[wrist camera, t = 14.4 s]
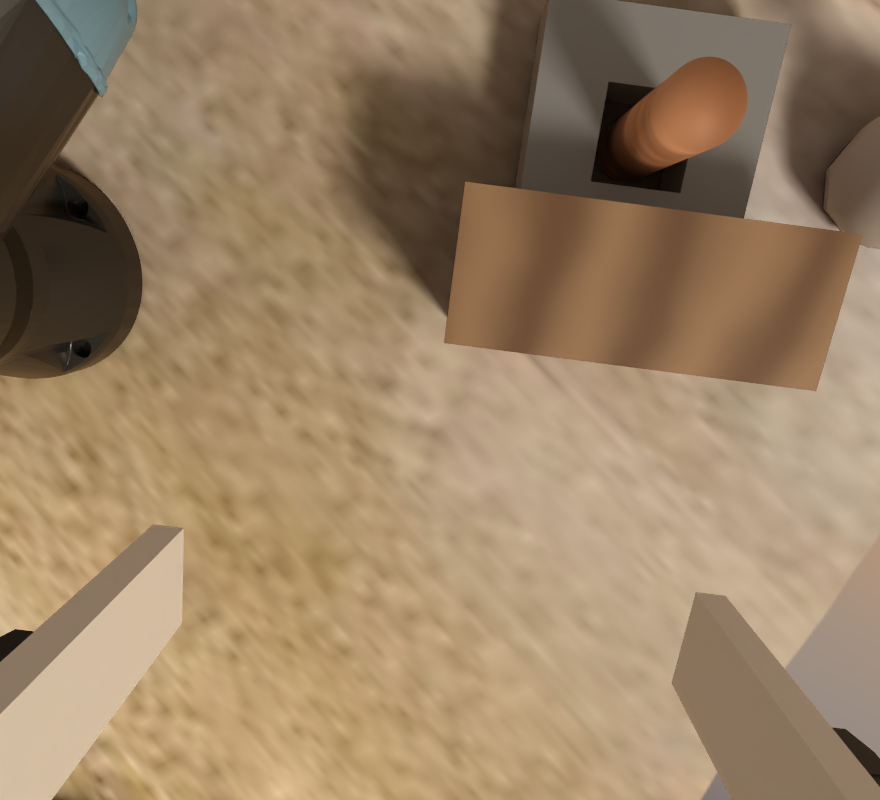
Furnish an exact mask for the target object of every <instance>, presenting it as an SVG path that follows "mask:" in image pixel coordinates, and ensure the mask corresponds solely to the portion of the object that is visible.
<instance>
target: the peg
mask: <svg viewBox="0 0 880 800" xmlns="http://www.w3.org/2000/svg"><path fill="white" fill-rule="evenodd" d="M747 101H748V95H747V88H746V84H745V81H744V79H743V77H742V75H741V73H740V72H739V70H738V69H737V68H736V67H735V66H734V65H732V64H731V63H730V62H728V61H726V60H724V59H721V58H718V57H701V58H697V59H694V60H692V61H690V62H688V63H686V64H685V65H683V66H682V67H680V68H679V69H678V70H677V71H676V72H674V73H673V74H672V75H671V76H670V77H668V78H667V79H666V80H665V81H664V82H662V83H661V84H660V85H659V86H657V87H656V88H655V89H654V90H653V91H651V92H650V93H649V94H648V95H647V96H645V97H644V98H643V99H642V100H641V101H639V102H638V103H637V104H636V105H634V106H633V107H632V108H631V109H630V110H628V111H627V112H626V113H625V114H624V115H622V116H621V117H620V118H619V119H618V120H616V121H615V122H614V123H613V124H611V125H610V126H609V127H608V128H607V129H606V130H605V132H604V133H603V135H602V137H601V139H600V142H599V145H598V160H599V163H600V166H601V168H602V169H603V171H604V172H605V173H606V174H607V175H608V176H609V177H610V178H612V179H614V180H617V181H621V182H630V181H634V180H637V179H639V178H642V177H644V176H647V175H649V174H651V173H654V172H656V171H659V170H661V169H663V168H666V167H668V166H671V165H673V164H675V163H678V162H680V161H683V160H685V159H687V158H690V157H692V156H695V155H697V154H699V153H702V152H704V151H707V150H709V149H711V148H714V147H716V146H718V145H720V144H722V143H723V142H725V141H726V140H728V139H729V138H730V137H731V136H732V135H733V134H734V133H735V132H736V130H737V129H738V128H739V126H740V124H741V122H742V120H743V118H744V116H745V112H746V108H747Z"/></svg>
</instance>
